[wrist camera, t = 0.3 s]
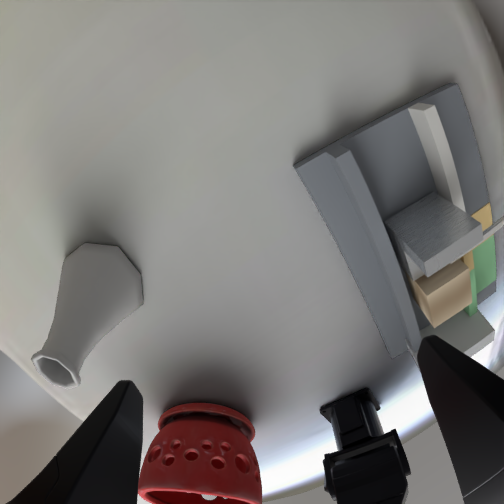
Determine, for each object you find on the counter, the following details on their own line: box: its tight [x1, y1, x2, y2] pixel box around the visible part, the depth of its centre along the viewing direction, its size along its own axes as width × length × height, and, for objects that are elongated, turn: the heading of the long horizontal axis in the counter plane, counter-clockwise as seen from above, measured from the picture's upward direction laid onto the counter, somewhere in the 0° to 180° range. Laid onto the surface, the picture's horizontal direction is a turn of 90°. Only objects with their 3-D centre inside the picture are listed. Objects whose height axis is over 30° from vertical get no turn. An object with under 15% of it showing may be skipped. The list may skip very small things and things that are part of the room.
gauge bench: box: [293, 83, 496, 372], centre depth 20 cm, size 22×14×6 cm, turn 32°
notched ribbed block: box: [384, 191, 504, 281], centre depth 17 cm, size 4×10×6 cm, turn 122°
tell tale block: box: [405, 259, 472, 328], centre depth 21 cm, size 4×4×4 cm
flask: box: [31, 243, 143, 389], centre depth 18 cm, size 7×7×10 cm
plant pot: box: [138, 403, 262, 504], centre depth 28 cm, size 13×13×12 cm
